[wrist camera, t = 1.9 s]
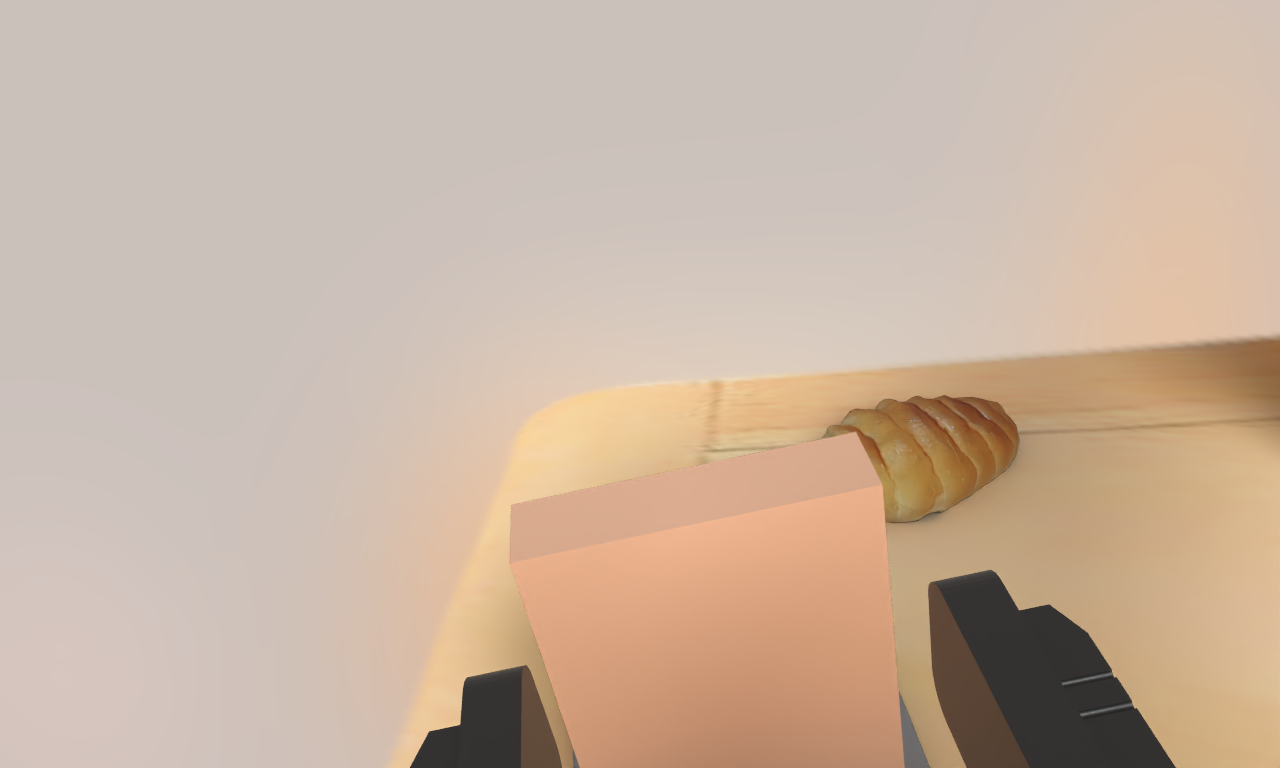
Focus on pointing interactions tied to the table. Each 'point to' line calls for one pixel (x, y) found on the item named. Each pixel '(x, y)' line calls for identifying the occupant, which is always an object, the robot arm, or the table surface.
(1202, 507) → the table surface
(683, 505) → the tile
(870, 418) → the pastry
